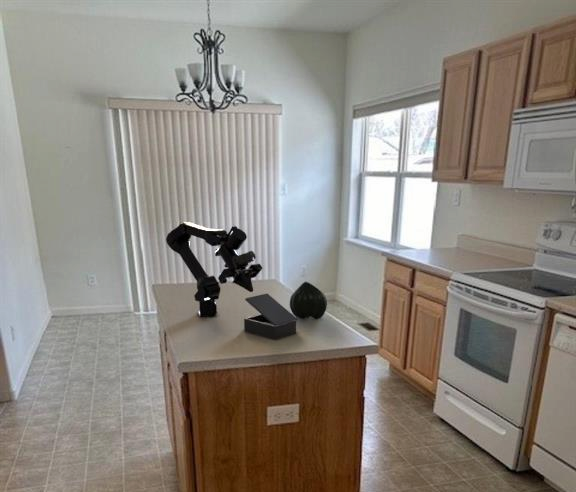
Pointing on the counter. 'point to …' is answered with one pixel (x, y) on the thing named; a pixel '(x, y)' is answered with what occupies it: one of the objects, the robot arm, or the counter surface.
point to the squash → (308, 302)
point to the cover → (271, 309)
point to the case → (268, 327)
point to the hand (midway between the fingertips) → (252, 291)
